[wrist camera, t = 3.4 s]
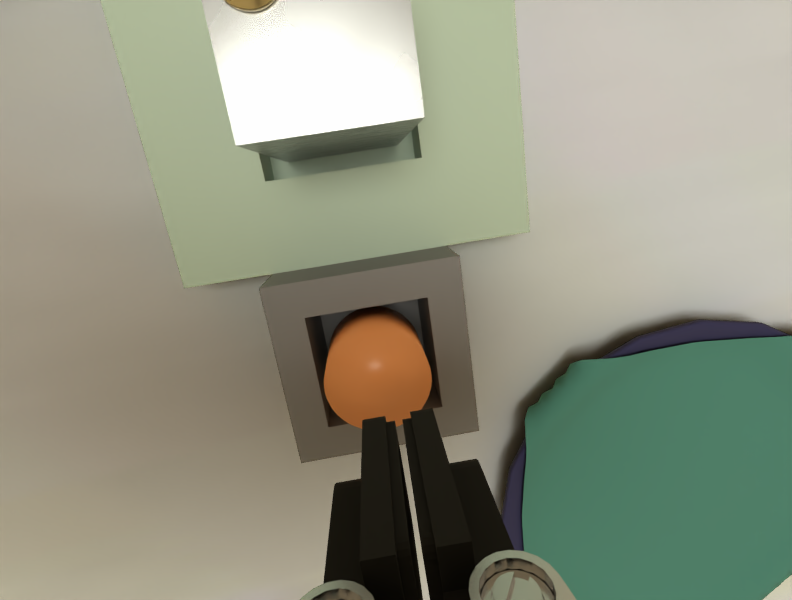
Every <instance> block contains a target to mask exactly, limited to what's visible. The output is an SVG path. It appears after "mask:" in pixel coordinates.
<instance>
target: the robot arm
mask: <svg viewBox="0 0 792 600" xmlns="http://www.w3.org/2000/svg"><path fill="white" fill-rule="evenodd" d="M410 415H411V418H407V419H402V422H403V428H404V435H405V441H406V448H407V455H408V461H409V468H410V474H411V481H412V488H413V494H414V501H415V507H416V514H417V521H418V527H419V534H420V540H421V547H422V553H423V559H424V565H425V571H426V577H427V583H428V589H429V595H430V600H576V598H575V597H574V595H573V594H572V592H571V591H570V589H569V588H568V587H567V585H566V584H565V582H564V581H563V579H562V578H561V576H560V575H559V574H558V573H557V572H556V570H555V569H554V568H553V567H552V566H551V565H550V564H549V563H547V562H546V561H544V560H543V559H541V558H540V557H538V556H536V555H533V554H530V553H527V552H524V551H516V550H514V547H513V545H512V542H511V540H510V537H509V535H508V532H507V530H506V527H505V525H504V523H503V520H502V518H501V515H500V513H499V510H498V508H497V505H496V503H495V500H494V498H493V495H492V493H491V491H490V488H489V486H488V483H487V481H486V478H485V476H484V473H483V471H482V468H481V466H480V464H479V462H478V460H477V459H473V460H467V461H461V462H455V463H449V462H448V458H447V455H446V452H445V448H444V445H443V442H442V438H441V435H440V431H439V428H438V425H437V421H436V418H435V415H434V411H433V408H429V409H423V410H417V411H411V412H410ZM300 600H423V597H422V590H421V583H420V575H419V568H418V560H417V553H416V546H415V538H414V531H413V524H412V518H411V512H410V506H409V500H408V494H407V488H406V482H405V476H404V470H403V465H402V459H401V453H400V447H399V441H398V435H397V429H396V423H395V421H390V422H386V417H385V416H382V417H376V418H370V419H364V420H362V459H361V479H357V480H351V481H345V482H339V483H336V484H335V486H334V492H333V501H332V511H331V520H330V529H329V538H328V547H327V557H326V566H325V575H324V584H322V585H320V586H318V587H316V588H314V589H312V590H311V591H310V592H308V593H307V594H306V595H305V596H303V597H302V598H301V599H300Z"/></svg>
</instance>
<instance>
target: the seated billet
mask: <svg viewBox="0 0 792 600" xmlns="http://www.w3.org/2000/svg"><path fill="white" fill-rule="evenodd" d="M201 1H202V5H203V9H204V13H205V18H206V22H207V26H208V30H209V34H210V39H211V43H212V47H213V51H214V56H215V60H216V64H217V68H218V73H219V77H220V81H221V85H222V90H223V94H224V98H225V102H226V106H227V111H228V115H229V119H230V123H231V128H232V132H233V136H234V140H235V145H236V146H238V147H241V148H244V149H248V150H251V151H254V152H257V153H260V154H263V155H266V156H270V157H273V158H276V159H279V160H282V161H285V162H294V161H300V160H307V159H313V158H320V157H326V156H333V155H340V154H346V153H353V152H359V151H366V150H372V149H379V148H385V147H392V146H397V145H398V144H399V143H400V142H401V141H402V140H403V139H404V138H405V137H406V136H407V135H408V134H409V133H410V132H411V131H412V130H413V129H414V128H415V127H416V126H417V125H418V124H419V123H420V122H421V121H422V120H423V119H424V118H425V115H424V107H423V99H422V91H421V82H420V74H419V66H418V58H417V50H416V42H415V34H414V25H413V17H412V9H411V1H410V0H201Z"/></svg>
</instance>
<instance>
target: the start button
mask: <svg viewBox="0 0 792 600" xmlns="http://www.w3.org/2000/svg"><path fill="white" fill-rule="evenodd" d="M431 383H432V375H431V369H430V365H429V363H428V360H427V358H426V355H425V353H424V350H423V347H422V345H421V342H420V340H419V337H418V335H417V332H416V330H415V328H414V326H413V325H412V324H411V322H410V321H409V320H408V319H407V318H406V317H405V316H403V315H402V314H401V313H399V312H397V311H395V310H393V309H390V308H386V307H381V306H373V307H367V308H361V309H358V310H356V311H354V312H352V313H350V314H349V315H347V316H346V317H345V318H344V319H342V320H341V322H340V323H339V324H338V325H337V327H336V328H335V330H334V332H333V334H332V337H331V341H330V346H329V352H328V357H327V363H326V369H325V375H324V390H325V394H326V398H327V400H328V402H329V404H330V406H331V408H332V409H333V410H334V412H335V413H336V414H337V415H338V416H339V417H340V418H341V419H343V420H344V421H346V422H347V423H349V424H351V425H353V426H355V427H358V428H361V429H362V420H364V419H370V418H376V417H382V416H385V417H386V422H390V421H395V423H396V427H397V426H400V425H402V424H403V422H402V419H407V418H411V415H410V412H411V411H417V410H421V409H422V407H423V406H424V404H425V403H426V401H427V399H428V396H429V394H430V390H431Z"/></svg>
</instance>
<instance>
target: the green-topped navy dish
mask: <svg viewBox="0 0 792 600" xmlns="http://www.w3.org/2000/svg"><path fill="white" fill-rule="evenodd" d="M525 433H526V437H525V439H524V441H523V442H522V444H521V446H520V448H519V450H518V452H517V454H516V456H515V458H514V460H513V462H512V463H511V465H510V467H509V472H508V478H507V484H506V490H505V497H504V503H503V509H502V515H501V518H502V520H503V523H504V525H505V527H506V530H507V532H508V535H509V537H510V540H511V542H512V545H513V547H514V550H516V551H524V552H527V553H530V554H533V555H536V556H538V557H540V558H541V559H543V560H544V561H546V562H547V563H549V564H550V565H551V566H552V567H553V568H554V569H555V570H556V572H557V573H558V574H559V575H560V576H561V578H562V579H563V581H564V582H565V584H566V585H567V587H568V588H569V589H570V591H571V592H572V594H573V595H574V597H575V598H576V600H762V599H764V598H765V597H766V596H767V595H768V594H769V593H770V592H772V591H773V590H774V589H775V588H777V587H778V586H779V585H780V584H781V583H782V582H783V581H784V580H785V579H787V578H788V577H789V576H790V575H792V336H791V335H789V334H786V333H784V332H782V331H779V330H777V329H775V328H772V327H770V326H768V325H765V324H763V323H759V322H745V321H720V320H695V321H691V322H687V323H684V324H680V325H676V326H673V327H669V328H665V329H662V330H658V331H655V332H651V333H647V334H644V335H640V336H637V337H635V338H633V339H632V340H630V341H628V342H627V343H625V344H623V345H622V346H620V347H618V348H617V349H615V350H613V351H612V352H610V353H608V354H607V355H605V356H603V357H602V358H600V359H592V360H580V361H577V362H574V363H571V364H570V365H569V367H568V369H567V371H566V373H565V374H564V375H562V376H560V377H559V378H557V379H556V381H555V383H554V386H553V388H552V389H550V390H548V391H546V392H544V393H542V395H541V397H540V399H539V401H538V402H537V403H535V404H534V405H532V406H530V407H528V410H527V414H526V418H525Z"/></svg>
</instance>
